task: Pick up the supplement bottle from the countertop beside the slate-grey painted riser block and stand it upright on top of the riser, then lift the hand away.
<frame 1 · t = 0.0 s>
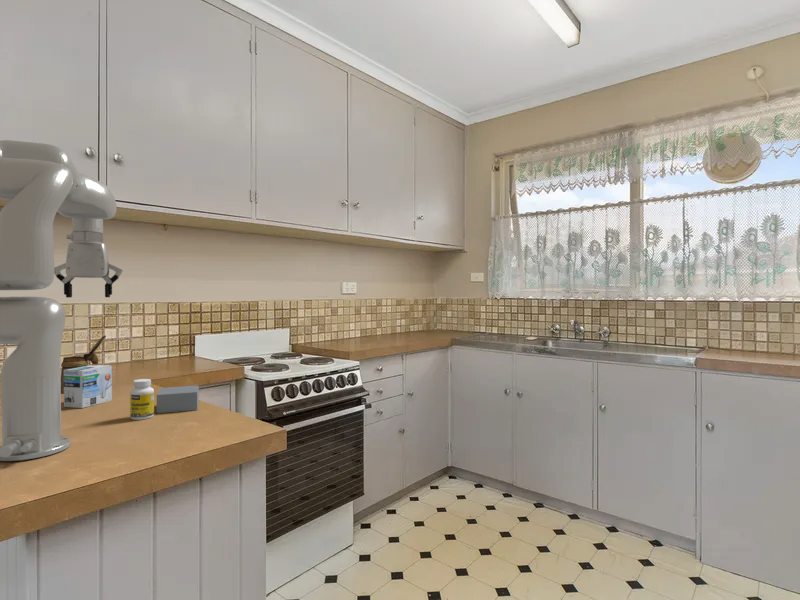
hand: (88, 297, 136), 31 cm above the countertop, fingers open, 9 cm apart
riser base: (178, 407, 131), on the countertop
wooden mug: (82, 390, 155), on the countertop
light bulb box: (88, 404, 135), on the countertop
supplement bottle: (142, 418, 120), on the countertop
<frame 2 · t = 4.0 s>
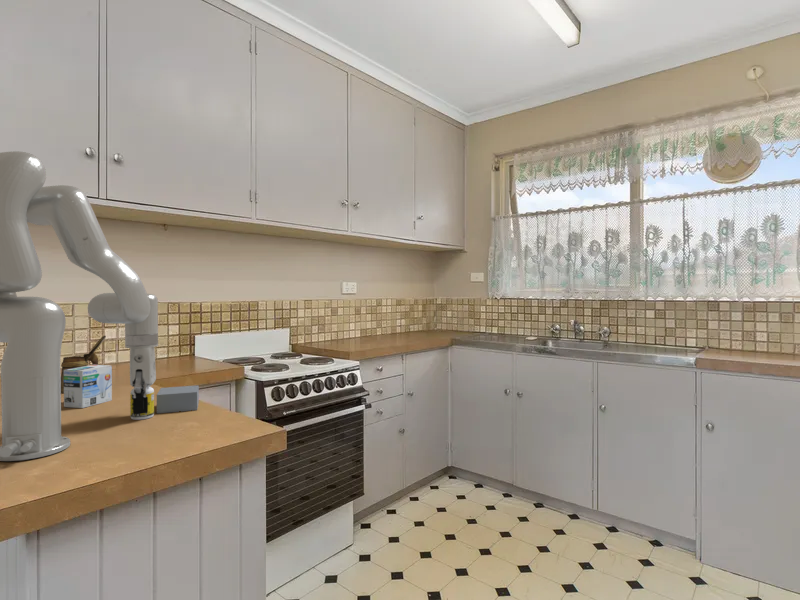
hand: (142, 409, 120), 2 cm above the countertop, fingers closed on supplement bottle, 5 cm apart
supplement bottle: (142, 418, 120), on the countertop, touching gripper
everything else where it was.
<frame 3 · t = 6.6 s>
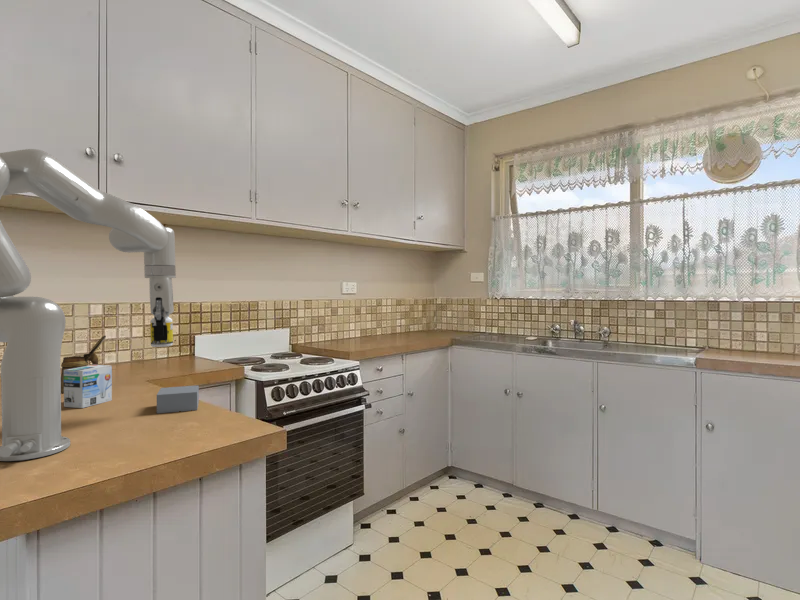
hand: (161, 338, 126), 20 cm above the countertop, fingers closed on supplement bottle, 5 cm apart
supplement bottle: (162, 346, 126), point 18 cm above the countertop, touching gripper
everything else where it was.
when the fingers open (8 cm above the countertop, at t = 9.5 s): supplement bottle drops 1 cm, resting on riser base.
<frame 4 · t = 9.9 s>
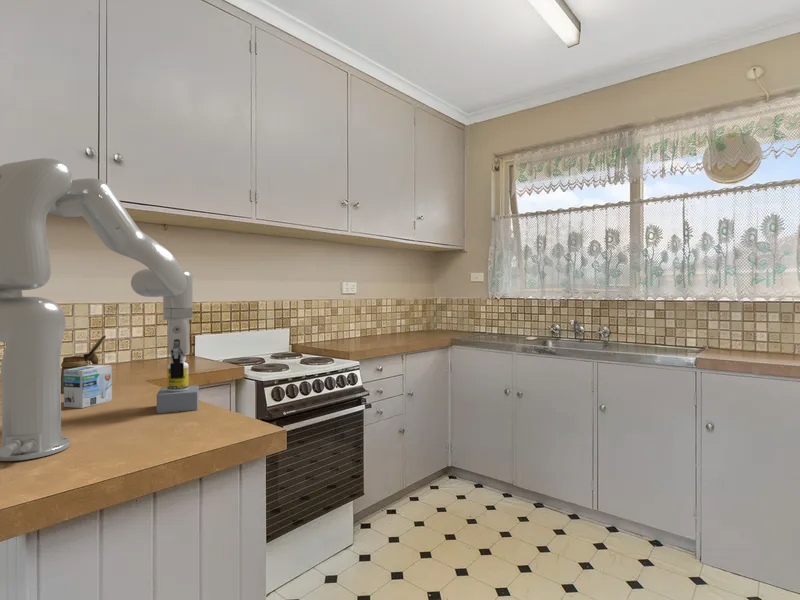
hand: (178, 374, 130), 9 cm above the countertop, fingers open, 9 cm apart
supplement bottle: (178, 390, 130), point 5 cm above the countertop, touching riser base
everything else where it was.
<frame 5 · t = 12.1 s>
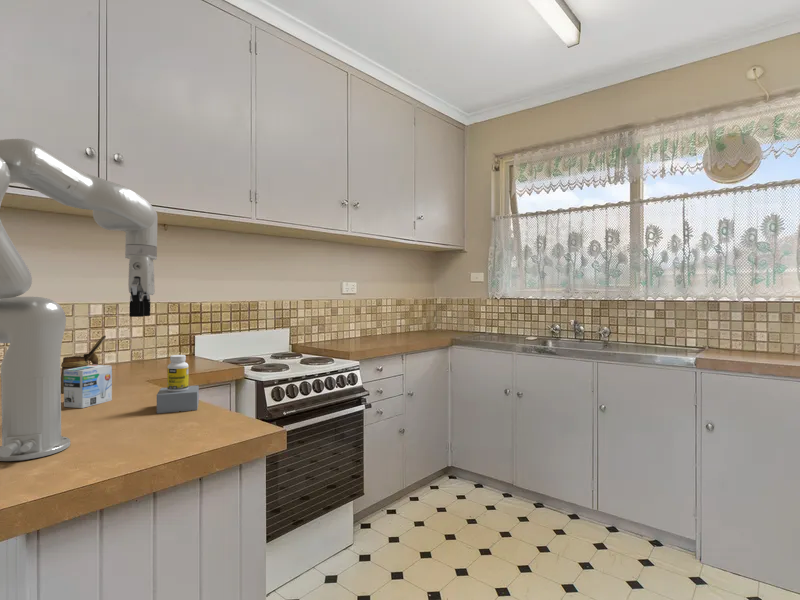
hand: (140, 316, 125), 26 cm above the countertop, fingers open, 9 cm apart
nothing on the countertop moved.
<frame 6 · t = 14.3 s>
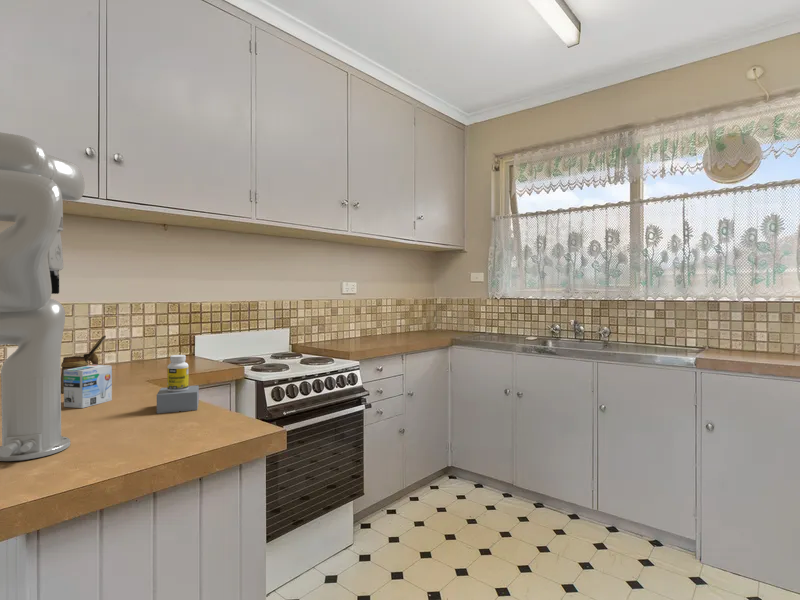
hand: (44, 293, 113), 32 cm above the countertop, fingers open, 9 cm apart
nothing on the countertop moved.
at the end: supplement bottle 0.3 cm off-centre on the riser base, point 4.8 cm above the riser base's base; supplement bottle tilted 0°; the gripper is holding nothing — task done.
